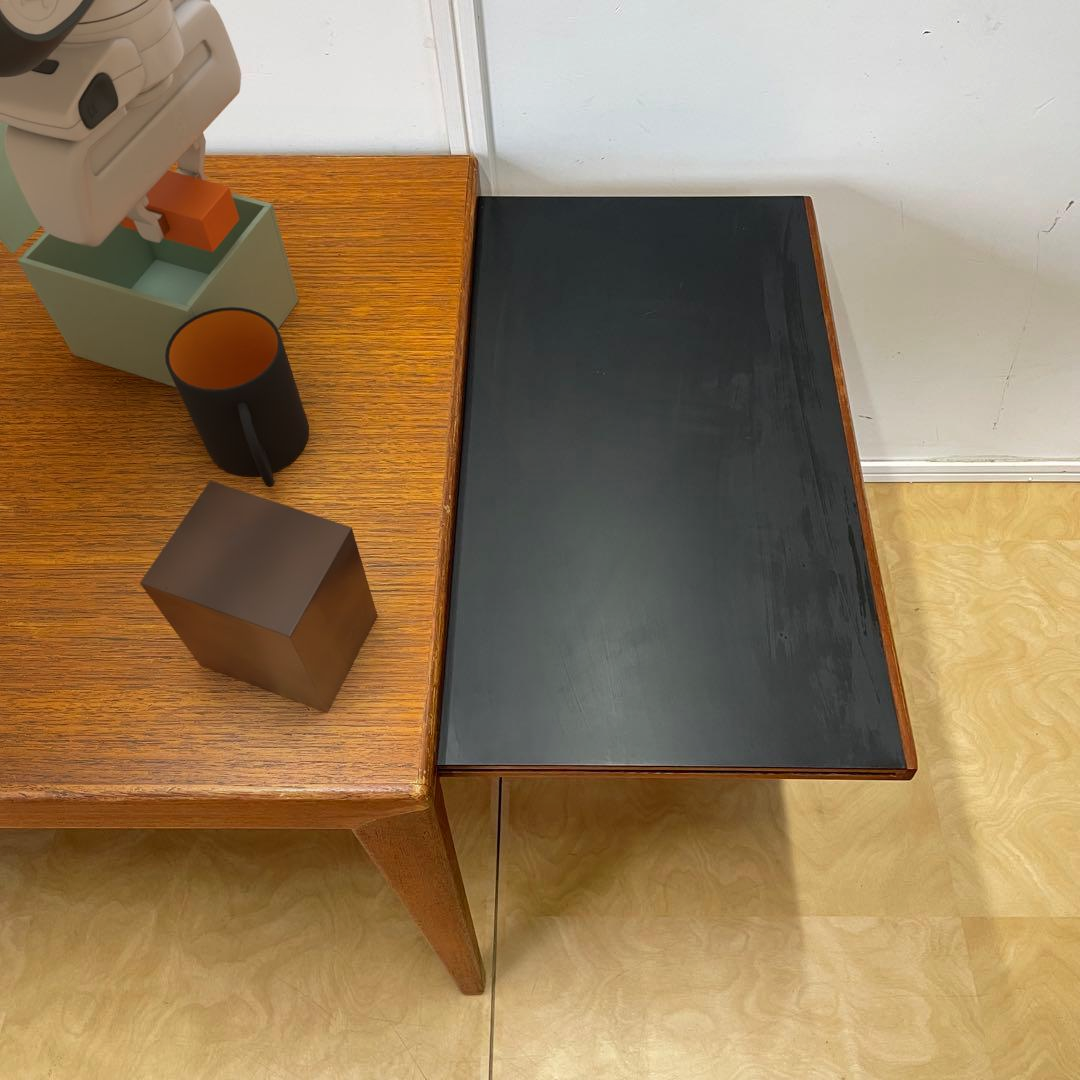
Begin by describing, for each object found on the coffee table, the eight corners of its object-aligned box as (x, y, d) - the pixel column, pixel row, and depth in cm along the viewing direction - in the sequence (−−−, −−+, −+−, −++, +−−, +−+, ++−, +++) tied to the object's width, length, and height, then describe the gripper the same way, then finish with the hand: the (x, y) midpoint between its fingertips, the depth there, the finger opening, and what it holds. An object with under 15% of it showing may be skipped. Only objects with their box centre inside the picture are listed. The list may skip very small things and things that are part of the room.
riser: (199, 665, 65) (139, 582, 54) (256, 572, 69) (209, 479, 58) (327, 713, 63) (289, 637, 53) (378, 615, 67) (352, 527, 57)
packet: (121, 226, 70) (105, 193, 67) (150, 194, 72) (136, 161, 69) (213, 252, 69) (201, 219, 66) (240, 219, 71) (229, 186, 68)
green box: (73, 355, 79) (16, 260, 71) (156, 258, 86) (113, 160, 77) (225, 403, 77) (186, 311, 68) (299, 300, 83) (272, 203, 74)
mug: (226, 527, 71) (184, 444, 62) (198, 413, 76) (155, 323, 68) (332, 495, 72) (305, 411, 63) (296, 386, 78) (267, 295, 69)
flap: (13, 253, 70) (11, 253, 70) (111, 154, 76) (109, 154, 77) (-63, 166, 65) (-65, 167, 65) (49, 67, 71) (47, 68, 71)
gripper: (153, -57, 63) (211, 125, 75) (-42, 110, 53) (60, 290, 65) (234, -39, 62) (279, 143, 74) (50, 135, 52) (137, 313, 64)
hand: (176, 213), depth 70 cm, fingers closed on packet, 4 cm apart
